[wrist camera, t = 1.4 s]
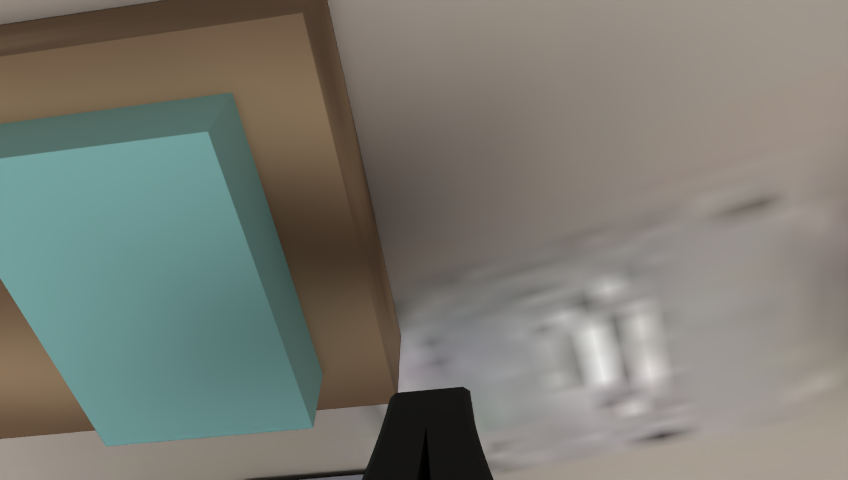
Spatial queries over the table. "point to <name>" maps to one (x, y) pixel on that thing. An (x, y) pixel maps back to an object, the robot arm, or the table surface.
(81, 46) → the deck
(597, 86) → the table surface
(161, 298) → the teal rectangular block
